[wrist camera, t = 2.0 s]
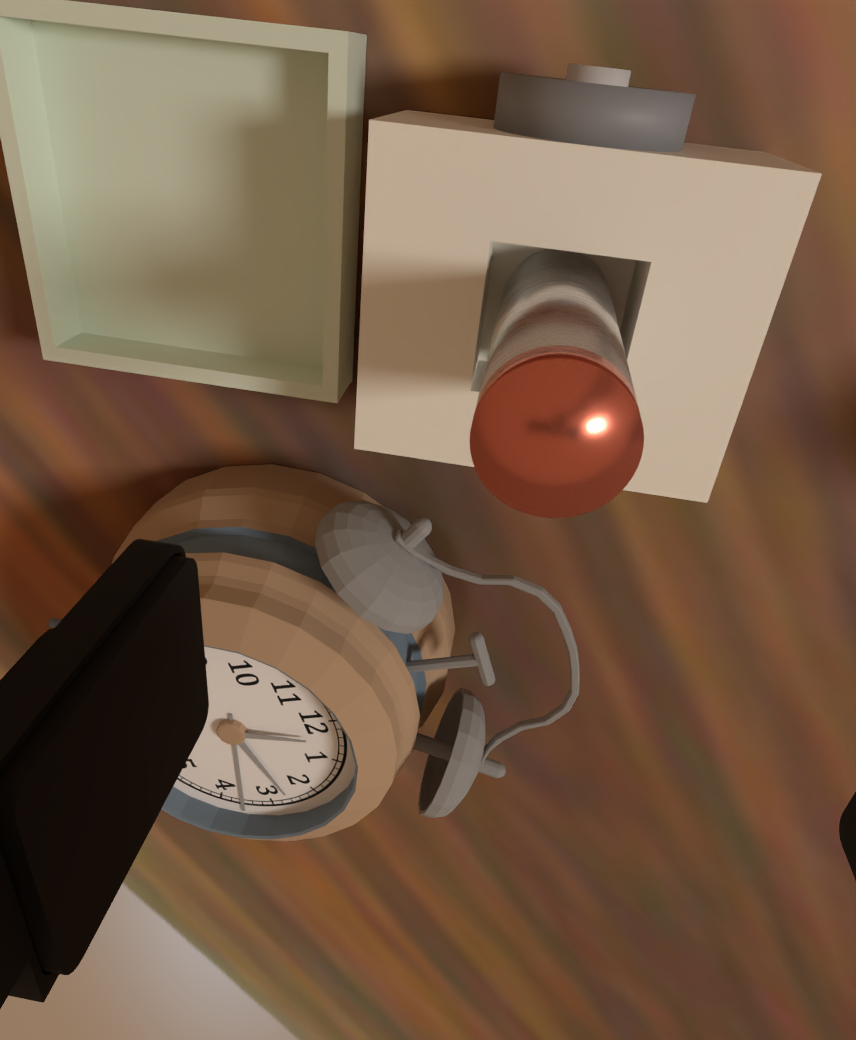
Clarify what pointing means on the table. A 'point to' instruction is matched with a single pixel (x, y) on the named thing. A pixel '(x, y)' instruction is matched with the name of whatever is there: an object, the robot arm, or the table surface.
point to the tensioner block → (577, 228)
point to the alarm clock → (322, 655)
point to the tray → (186, 191)
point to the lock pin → (556, 392)
